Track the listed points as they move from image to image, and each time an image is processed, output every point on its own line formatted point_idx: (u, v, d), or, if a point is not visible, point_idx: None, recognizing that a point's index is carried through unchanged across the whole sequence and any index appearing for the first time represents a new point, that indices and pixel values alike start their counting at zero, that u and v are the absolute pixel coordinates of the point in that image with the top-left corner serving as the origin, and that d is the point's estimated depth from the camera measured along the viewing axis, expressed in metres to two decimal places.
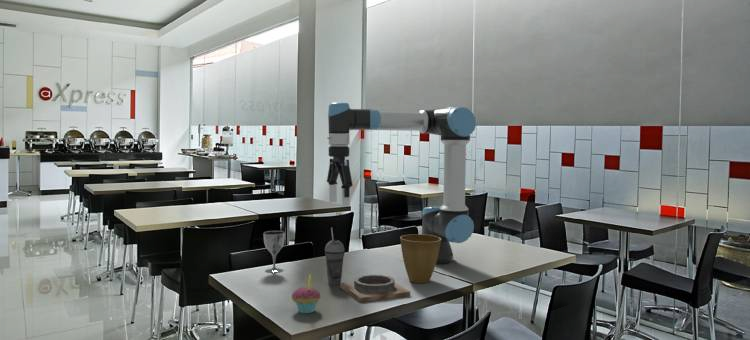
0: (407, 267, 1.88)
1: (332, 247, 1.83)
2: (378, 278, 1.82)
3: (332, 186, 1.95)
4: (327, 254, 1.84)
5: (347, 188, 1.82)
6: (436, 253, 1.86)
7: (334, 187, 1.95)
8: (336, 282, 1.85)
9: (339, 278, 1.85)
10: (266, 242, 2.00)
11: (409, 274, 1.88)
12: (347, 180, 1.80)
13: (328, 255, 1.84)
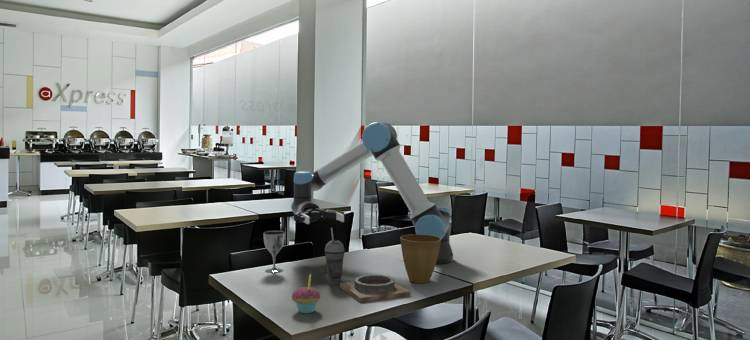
0: (407, 267, 1.88)
1: (332, 247, 1.83)
2: (378, 278, 1.82)
3: (336, 217, 2.02)
4: (327, 254, 1.84)
5: (299, 217, 1.97)
6: (436, 253, 1.86)
7: (337, 215, 2.02)
8: (336, 282, 1.85)
9: (339, 278, 1.85)
10: (266, 242, 2.00)
11: (409, 274, 1.88)
12: None
13: (328, 255, 1.84)
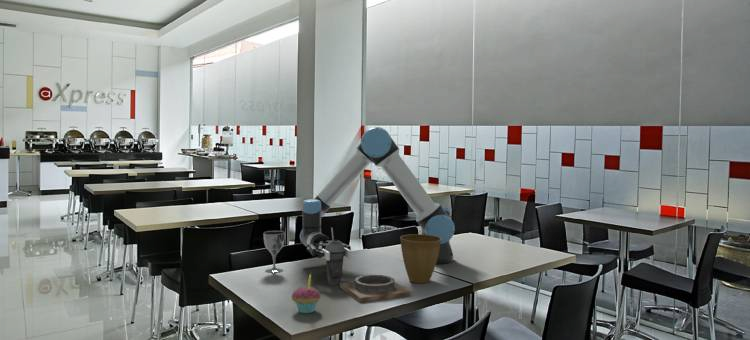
0: (407, 267, 1.88)
1: (332, 247, 1.83)
2: (378, 278, 1.82)
3: None
4: None
5: (318, 253, 1.85)
6: (436, 253, 1.86)
7: None
8: (336, 282, 1.85)
9: (339, 278, 1.85)
10: (266, 242, 2.00)
11: (409, 274, 1.88)
12: (312, 252, 1.87)
13: None
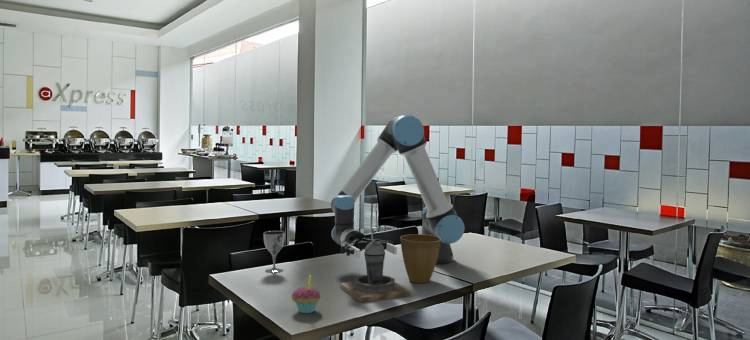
0: (407, 267, 1.88)
1: (373, 249, 1.73)
2: None
3: (387, 248, 1.82)
4: (367, 257, 1.74)
5: (347, 250, 1.76)
6: (436, 253, 1.86)
7: (387, 246, 1.82)
8: None
9: (380, 282, 1.75)
10: (266, 242, 2.00)
11: (409, 274, 1.88)
12: None
13: (368, 258, 1.74)
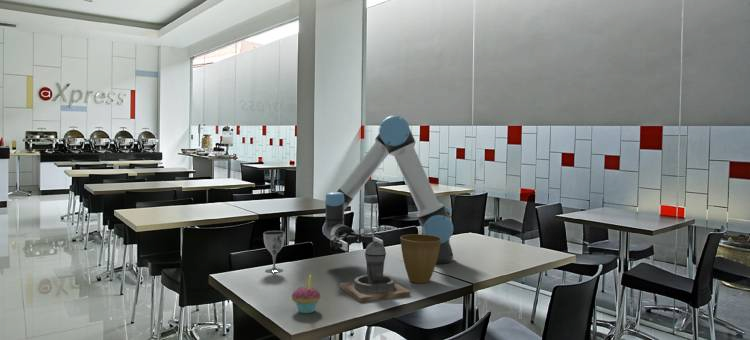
0: (407, 267, 1.88)
1: (373, 249, 1.73)
2: None
3: None
4: (368, 257, 1.74)
5: (335, 243, 1.87)
6: (436, 253, 1.86)
7: (374, 240, 1.92)
8: None
9: (380, 282, 1.75)
10: (266, 242, 2.00)
11: (409, 274, 1.88)
12: None
13: (369, 258, 1.73)
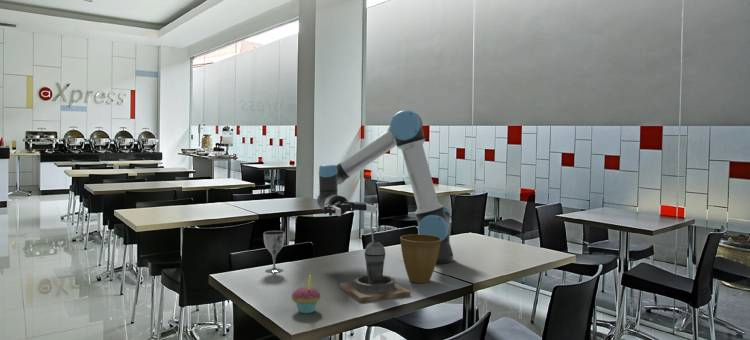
0: (407, 267, 1.88)
1: (373, 249, 1.73)
2: None
3: (367, 208, 1.97)
4: (367, 257, 1.74)
5: (329, 210, 1.91)
6: (436, 253, 1.86)
7: (367, 206, 1.96)
8: None
9: (380, 282, 1.75)
10: (266, 242, 2.00)
11: (409, 274, 1.88)
12: None
13: (369, 258, 1.74)
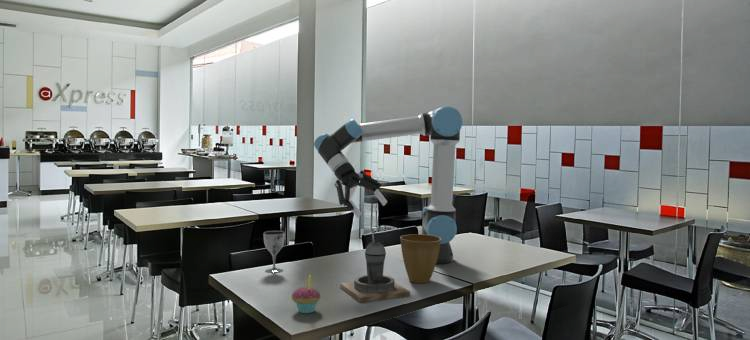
0: (407, 267, 1.88)
1: (373, 249, 1.73)
2: None
3: (375, 192, 2.03)
4: (368, 256, 1.74)
5: (346, 203, 1.94)
6: (436, 253, 1.86)
7: (377, 192, 2.03)
8: None
9: (380, 282, 1.75)
10: (266, 242, 2.00)
11: (409, 274, 1.88)
12: (339, 199, 1.95)
13: (369, 257, 1.74)
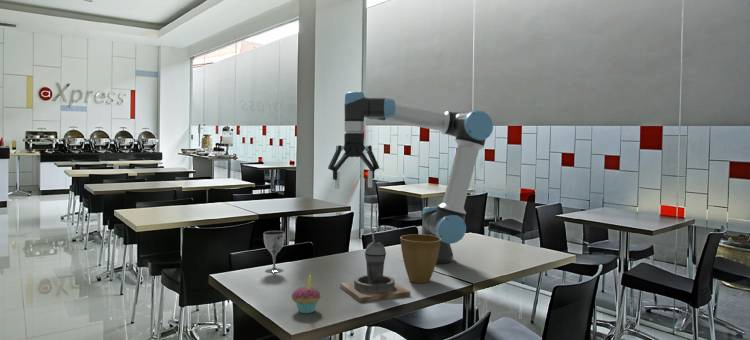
0: (407, 267, 1.88)
1: (373, 249, 1.73)
2: None
3: (368, 172, 2.03)
4: (368, 257, 1.74)
5: (333, 171, 1.97)
6: (436, 253, 1.86)
7: (369, 173, 2.03)
8: None
9: (380, 282, 1.75)
10: (266, 242, 2.00)
11: (409, 274, 1.88)
12: (330, 163, 1.97)
13: (369, 258, 1.73)
